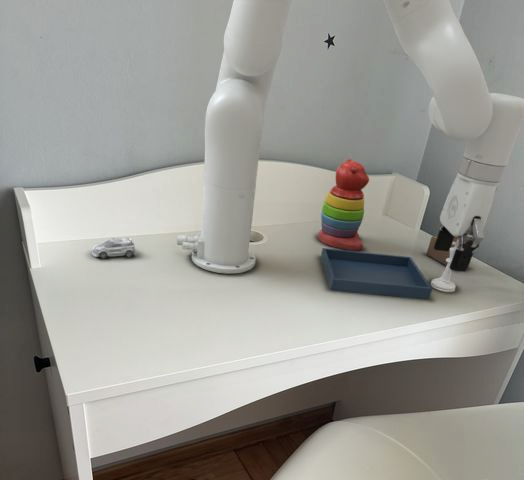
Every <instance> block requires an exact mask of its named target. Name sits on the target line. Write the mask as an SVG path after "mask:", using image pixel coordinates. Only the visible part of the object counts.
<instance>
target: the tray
mask: <svg viewBox="0 0 524 480" xmlns="http://www.w3.org/2000/svg"><path fill="white" fill-rule="evenodd" d="M320 261H321V264H322V267H323V270H324V273H325V277H326V280H327V284H328V287H329V290H330V291H336V292H345V293H355V294H356V293H357V294H368V295H377V296H387V297H388V296H389V297H397V298H408V299H419V300H430V297H431V294H432V292H433V287H432V286H431V284H430V283H429V281H428V280H427V278H426V277H425V275H424V274H423V272H422V271H421V269H420V268H419V267H418V266H417V264H416V262H415V261H414V259H413V258H412V257H411V256H404V255H394V254H384V253H375V252H367V251H354V250H346V249H338V248H337V249H336V248H327V247H322V250H321V256H320Z"/></svg>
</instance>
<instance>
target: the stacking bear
mask: <svg viewBox="0 0 524 480" xmlns="http://www.w3.org/2000/svg"><path fill="white" fill-rule="evenodd" d="M369 182H370V176H369V175H368V174H367V172H366V170H365V167H364V165H362V164H361V163H360V162H358V161H352V158H348V159H346V160H345V161H344V162H342V163H341V164H339V166H338V167H337V169H336V171H335V185H334V186H333V187H332V188H331V189H330V190H329V191H328V193H327V195H326V197H325V200H324V201H323V204H322V208H321V215H320V219H321V223H320V224H321V225H320V226H321V229H320V231H319V232H318V235H317V238H318V240H319V241H320V242H321V243H323V244H325V245H328V246H330V247H334V248H337V249H340V250H347V251H357V252H360V251H361V250H363V245H364V244H363V241H361V239H359V235H360V234H359V232H358V231H359V229H360V227H361V225H362V223H363V219H364V214H365V198H364V197H365V195H364V191H363V189H364V188H366V187H367V185H368V184H369Z"/></svg>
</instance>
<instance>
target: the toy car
mask: <svg viewBox="0 0 524 480" xmlns="http://www.w3.org/2000/svg"><path fill="white" fill-rule="evenodd" d="M133 254H136V247H135V243H134V240H133V239H132V238H131V237H126V238H118V237H117V238H115V237H113V238H112V237H111V238H110V239H108V240H107V241H104V242H100V243H96V244H94V246H93V247H92V251H91V255H92V256H93V257H97V258H98V257H99V258H100V259H102V260H105V259H107V257H121V256H125V257H126V258H131V257H132V256H133Z"/></svg>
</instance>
